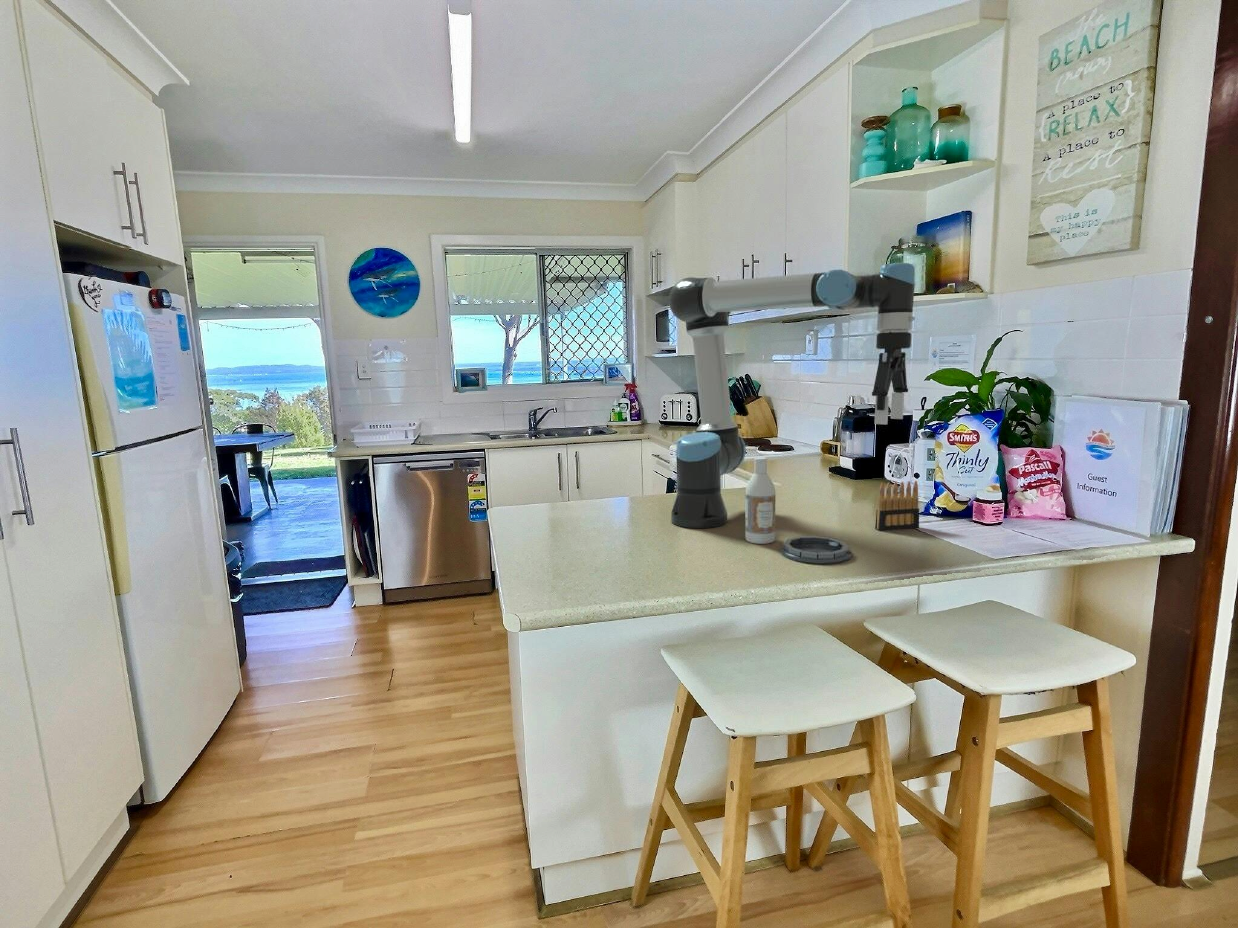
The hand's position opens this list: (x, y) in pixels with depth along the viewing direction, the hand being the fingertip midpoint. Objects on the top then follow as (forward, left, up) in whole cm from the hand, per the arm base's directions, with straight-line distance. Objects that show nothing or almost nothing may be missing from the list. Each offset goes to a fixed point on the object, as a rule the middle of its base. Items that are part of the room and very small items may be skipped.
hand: (889, 421), depth 151 cm
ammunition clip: (+3, +1, -27) cm, 27 cm away
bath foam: (-25, -22, -27) cm, 43 cm away
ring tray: (-11, -27, -27) cm, 39 cm away
